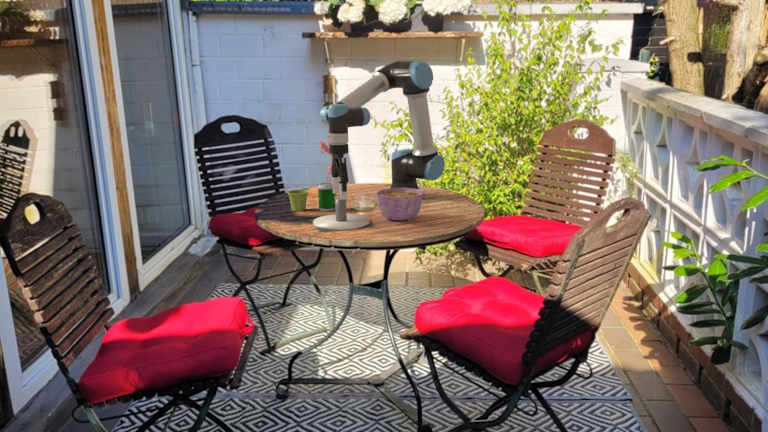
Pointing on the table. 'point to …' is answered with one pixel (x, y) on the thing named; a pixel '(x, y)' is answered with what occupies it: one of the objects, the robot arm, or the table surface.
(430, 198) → the table surface
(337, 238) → the table surface
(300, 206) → the plant pot
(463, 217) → the table surface
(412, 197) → the bowl of food
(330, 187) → the soda can
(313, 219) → the mat
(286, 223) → the table surface
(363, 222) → the lid
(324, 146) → the red flower stem
